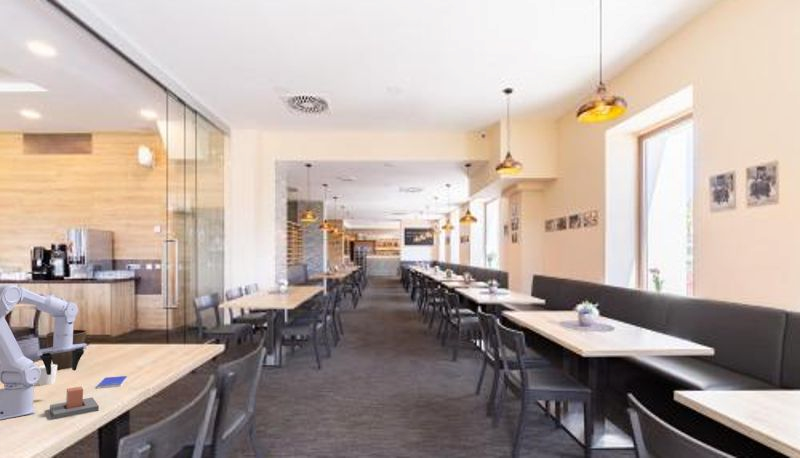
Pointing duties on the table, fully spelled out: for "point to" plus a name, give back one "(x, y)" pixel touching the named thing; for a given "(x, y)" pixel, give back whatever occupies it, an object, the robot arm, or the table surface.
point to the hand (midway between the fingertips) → (61, 372)
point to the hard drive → (112, 382)
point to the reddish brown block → (74, 397)
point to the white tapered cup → (46, 378)
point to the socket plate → (61, 411)
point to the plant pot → (65, 358)
